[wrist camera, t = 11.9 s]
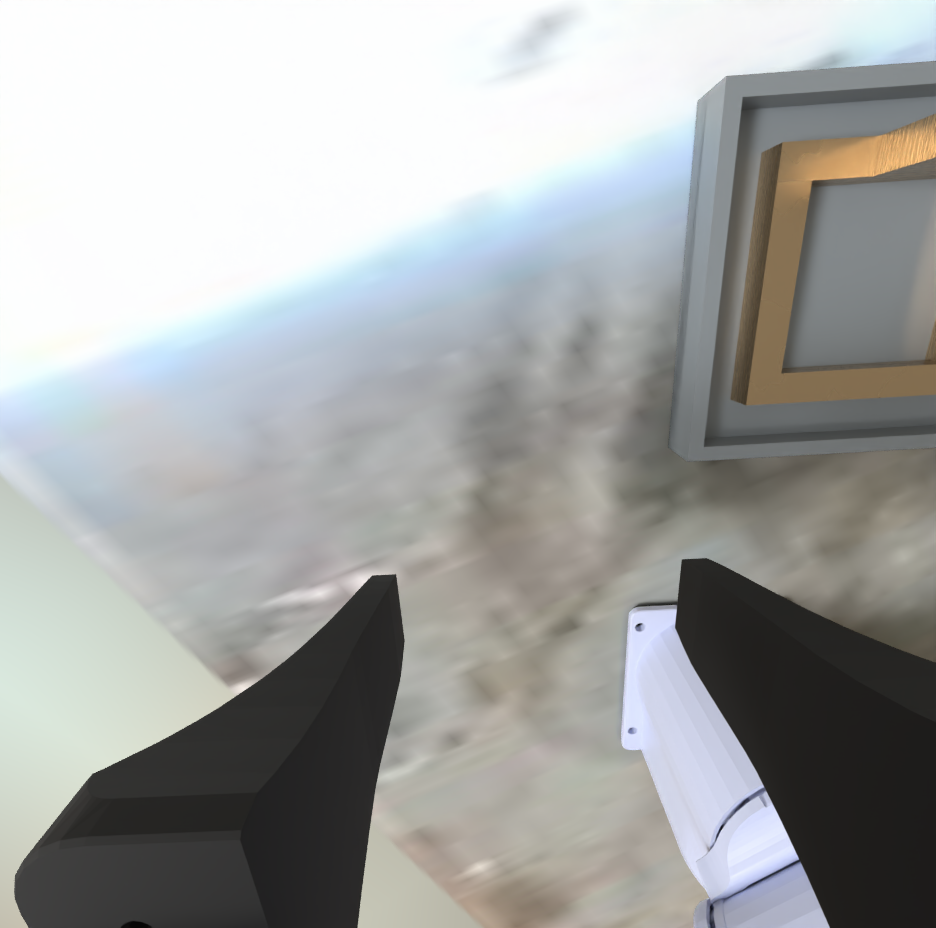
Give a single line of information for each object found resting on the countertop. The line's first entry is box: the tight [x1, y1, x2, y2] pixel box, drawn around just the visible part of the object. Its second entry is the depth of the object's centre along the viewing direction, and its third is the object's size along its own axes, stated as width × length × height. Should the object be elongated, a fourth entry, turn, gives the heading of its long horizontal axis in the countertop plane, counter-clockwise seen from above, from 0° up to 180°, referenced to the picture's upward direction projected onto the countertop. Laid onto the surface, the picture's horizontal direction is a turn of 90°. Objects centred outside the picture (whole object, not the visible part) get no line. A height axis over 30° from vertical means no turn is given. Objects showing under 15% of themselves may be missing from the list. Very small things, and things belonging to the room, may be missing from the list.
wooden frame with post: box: [730, 114, 936, 405], centre depth 16 cm, size 9×9×5 cm
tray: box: [668, 61, 936, 462], centre depth 18 cm, size 13×13×2 cm
